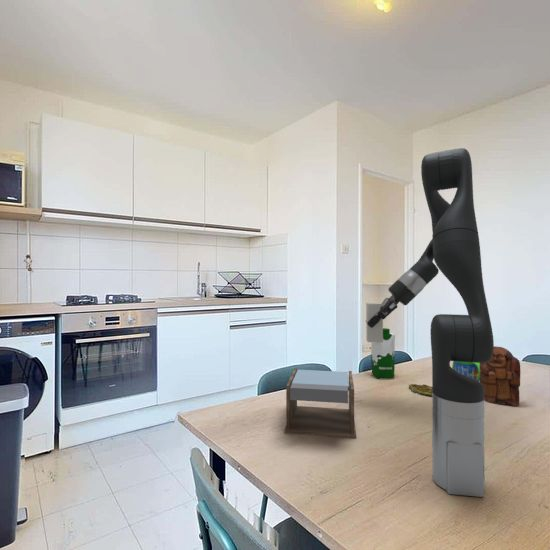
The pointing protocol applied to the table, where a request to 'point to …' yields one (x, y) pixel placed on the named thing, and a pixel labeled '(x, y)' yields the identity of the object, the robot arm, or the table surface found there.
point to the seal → (421, 389)
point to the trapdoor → (320, 386)
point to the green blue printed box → (468, 369)
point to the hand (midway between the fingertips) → (368, 324)
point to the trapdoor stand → (320, 416)
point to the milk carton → (383, 356)
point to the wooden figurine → (501, 378)
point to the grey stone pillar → (377, 331)
